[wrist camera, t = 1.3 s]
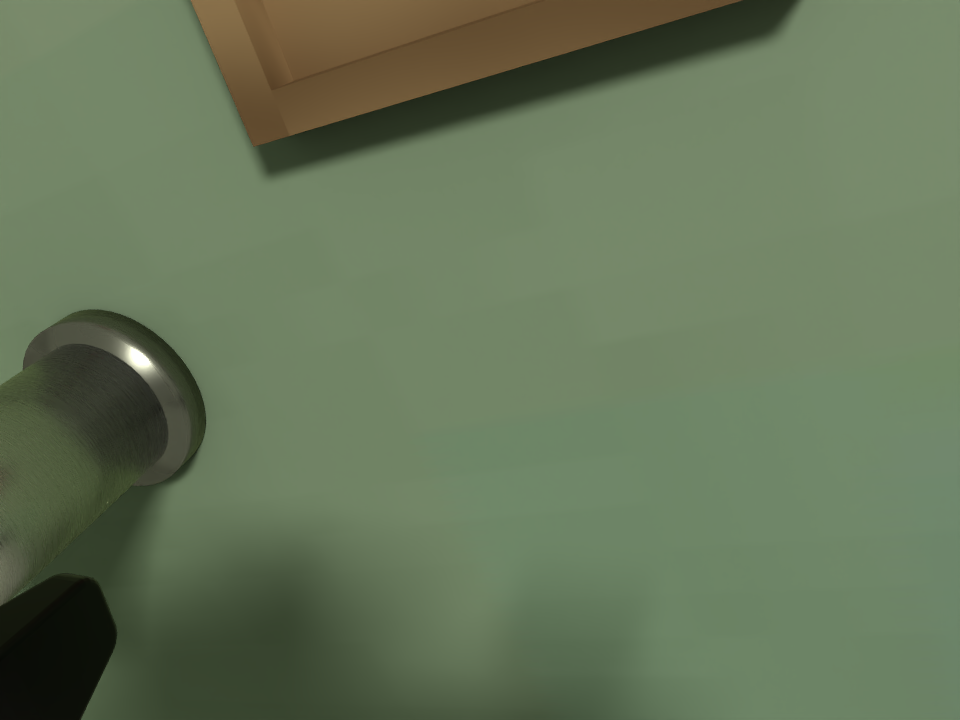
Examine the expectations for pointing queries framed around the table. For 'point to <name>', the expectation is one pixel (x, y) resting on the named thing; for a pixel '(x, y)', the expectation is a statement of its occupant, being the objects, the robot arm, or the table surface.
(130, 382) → the glass jar
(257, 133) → the walnut keeper tray
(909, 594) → the table surface
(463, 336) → the table surface
